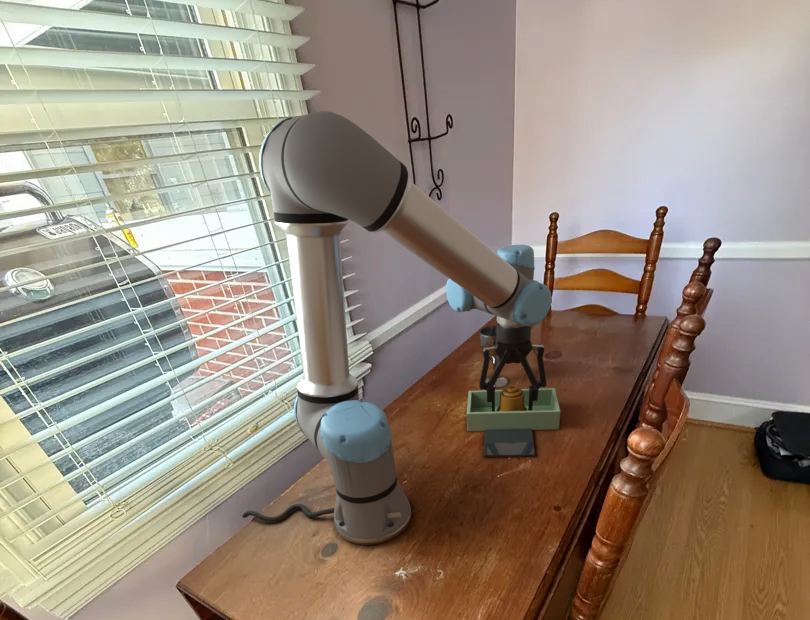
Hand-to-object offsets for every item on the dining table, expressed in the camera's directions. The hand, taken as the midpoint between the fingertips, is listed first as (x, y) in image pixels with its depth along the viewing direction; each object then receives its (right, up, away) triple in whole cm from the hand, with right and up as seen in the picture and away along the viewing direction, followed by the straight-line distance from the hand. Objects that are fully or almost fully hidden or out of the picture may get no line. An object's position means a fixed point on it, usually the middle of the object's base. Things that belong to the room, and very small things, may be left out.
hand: (511, 412), depth 119 cm
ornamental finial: (0, -1, +1) cm, 1 cm away
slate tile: (-3, -8, -8) cm, 12 cm away
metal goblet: (-1, +11, +18) cm, 21 cm away
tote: (0, -1, +1) cm, 2 cm away
